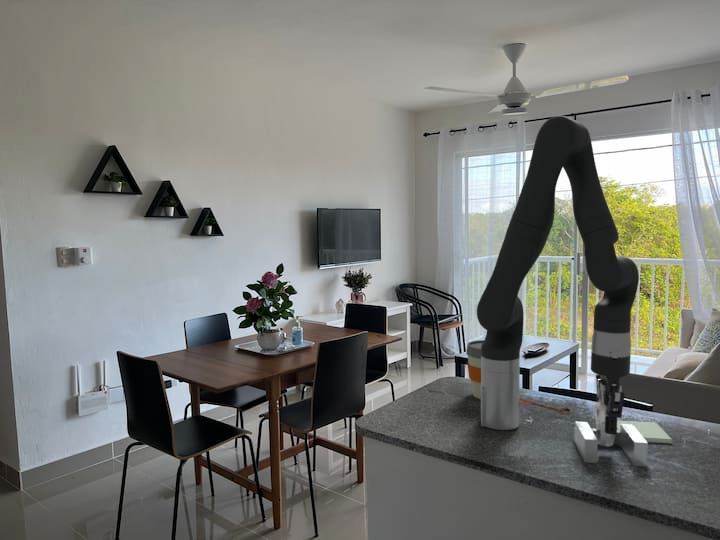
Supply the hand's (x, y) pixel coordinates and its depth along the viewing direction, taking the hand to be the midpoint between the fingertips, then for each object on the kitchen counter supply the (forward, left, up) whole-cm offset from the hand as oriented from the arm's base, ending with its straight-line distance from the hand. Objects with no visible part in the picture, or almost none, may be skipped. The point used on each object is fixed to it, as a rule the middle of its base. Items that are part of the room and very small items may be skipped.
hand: (607, 428), depth 113 cm
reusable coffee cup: (-24, +36, -6) cm, 43 cm away
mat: (+10, +13, -6) cm, 18 cm away
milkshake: (0, 0, -3) cm, 3 cm away
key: (-10, +28, -6) cm, 30 cm away
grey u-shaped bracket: (0, 0, -6) cm, 6 cm away
